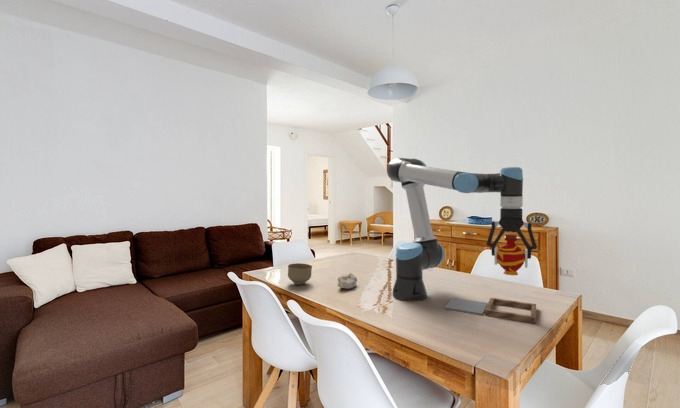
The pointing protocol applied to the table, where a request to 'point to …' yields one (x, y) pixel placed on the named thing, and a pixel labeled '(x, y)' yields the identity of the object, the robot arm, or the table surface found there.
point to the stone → (347, 281)
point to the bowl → (299, 273)
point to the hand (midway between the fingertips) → (510, 265)
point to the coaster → (466, 306)
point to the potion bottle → (510, 256)
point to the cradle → (507, 314)
